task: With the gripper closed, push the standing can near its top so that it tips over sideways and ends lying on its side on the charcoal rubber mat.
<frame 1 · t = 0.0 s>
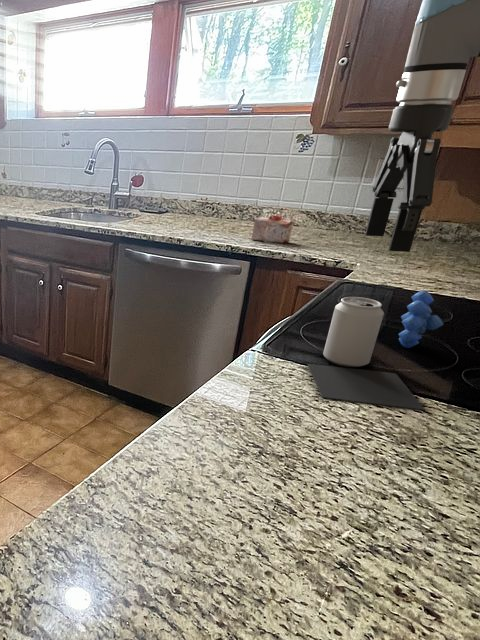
hand: (385, 243, 89), 23 cm above the worktop, tool pointing down, fingers open, 13 cm apart
food item: (270, 241, 203), on the worktop
grapes: (412, 349, 104), on the worktop
mat: (360, 386, 89), on the worktop
can: (344, 362, 99), on the worktop
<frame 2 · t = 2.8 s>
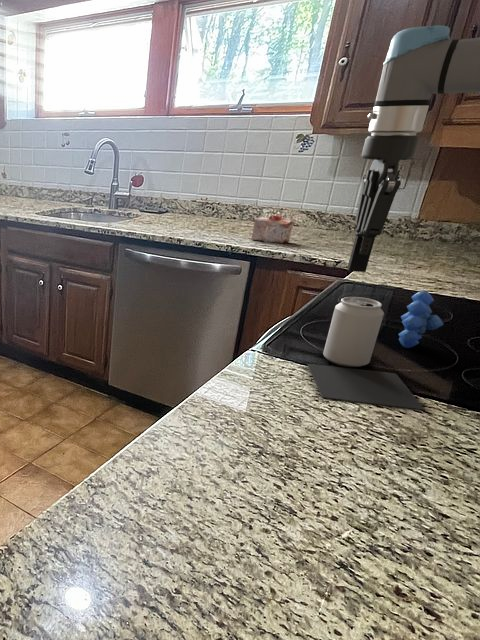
hand: (356, 270, 99), 16 cm above the worktop, tool pointing down, fingers closed
nothing on the worktop moved.
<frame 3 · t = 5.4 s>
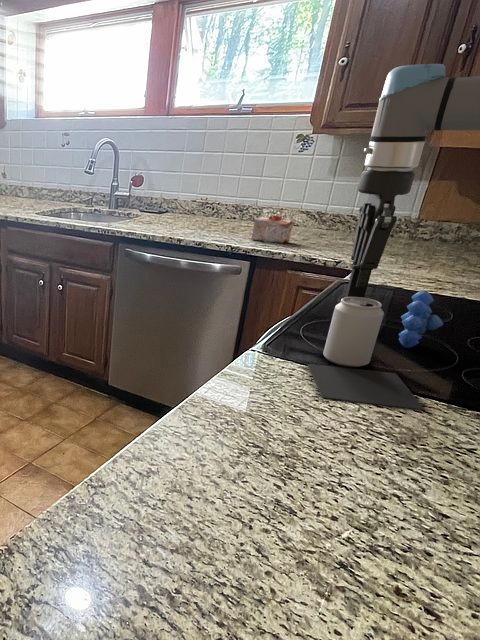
hand: (353, 302, 98), 10 cm above the worktop, tool pointing down, fingers closed
can: (344, 362, 99), on the worktop, touching gripper
everything else where it was.
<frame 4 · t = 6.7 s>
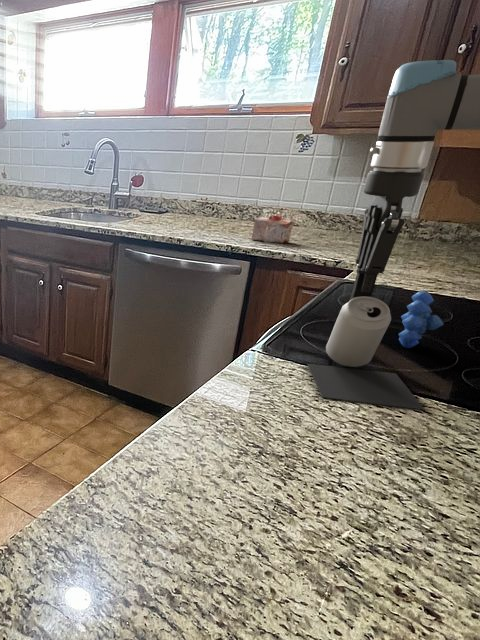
hand: (357, 307, 95), 11 cm above the worktop, tool pointing down, fingers closed
can: (346, 355, 98), point 1 cm above the worktop, touching gripper
everything else where it was.
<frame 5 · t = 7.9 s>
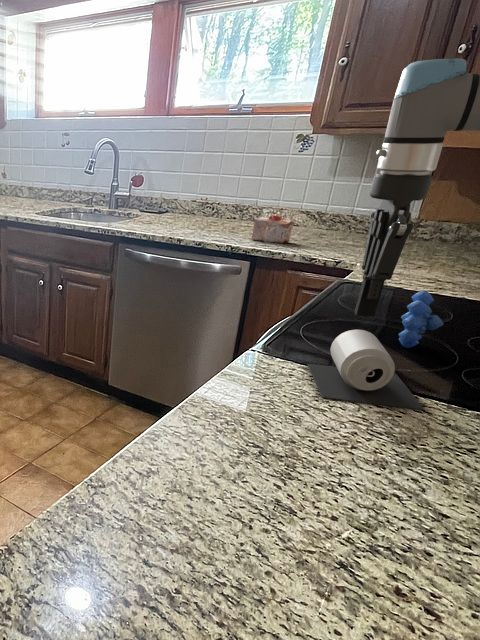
hand: (364, 314, 92), 10 cm above the worktop, tool pointing down, fingers closed
can: (353, 346, 95), point 4 cm above the worktop, touching mat
everything else where it was.
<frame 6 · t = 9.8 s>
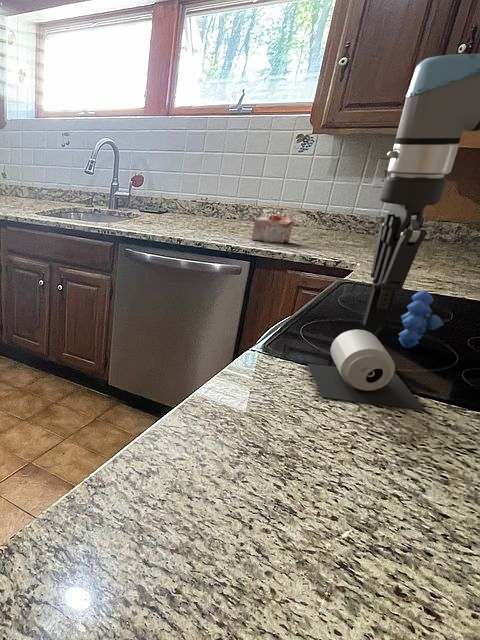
hand: (373, 325, 87), 10 cm above the worktop, tool pointing down, fingers closed
nothing on the worktop moved.
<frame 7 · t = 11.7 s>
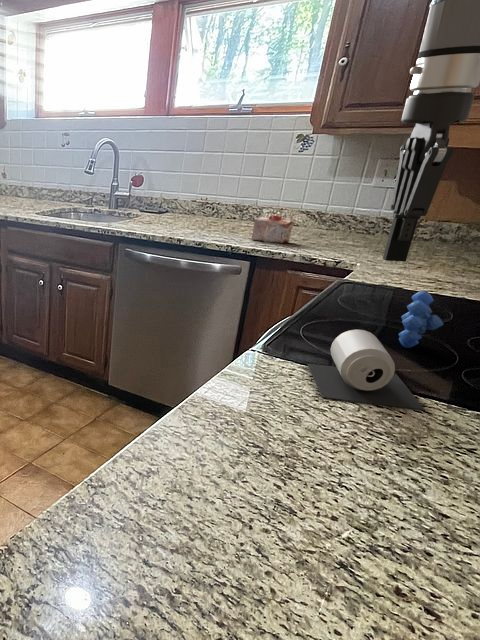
hand: (394, 259, 82), 21 cm above the worktop, tool pointing down, fingers closed
nothing on the worktop moved.
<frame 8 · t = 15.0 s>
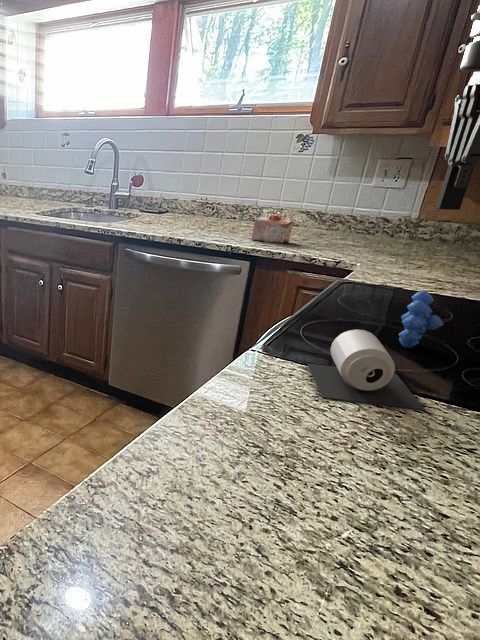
hand: (447, 208, 84), 28 cm above the worktop, tool pointing down, fingers closed
nothing on the worktop moved.
at the end: can tilted 90°; can touching mat; can inside the target area (5.2 cm from its centre), point 4.1 cm above the worktop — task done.
